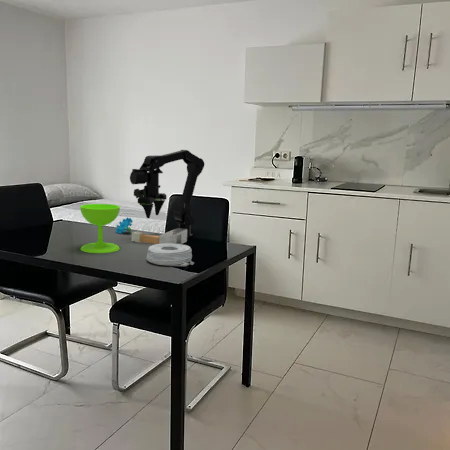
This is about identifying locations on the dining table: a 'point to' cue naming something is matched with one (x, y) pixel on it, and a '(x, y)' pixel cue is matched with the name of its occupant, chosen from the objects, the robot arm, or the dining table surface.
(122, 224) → the blue lumpy cluster
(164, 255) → the cable
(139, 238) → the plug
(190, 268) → the dining table surface
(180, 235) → the grey long block
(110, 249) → the wineglass
